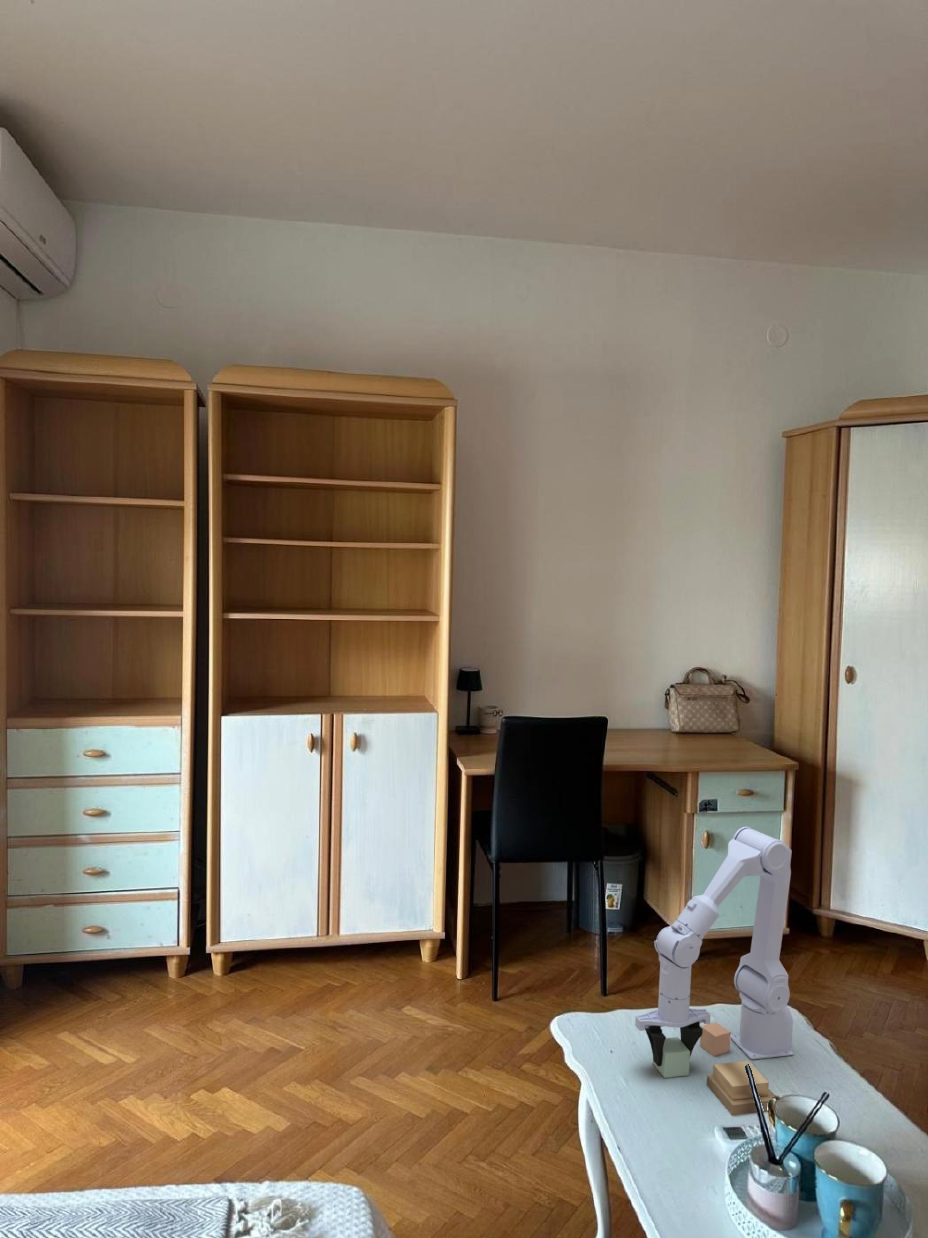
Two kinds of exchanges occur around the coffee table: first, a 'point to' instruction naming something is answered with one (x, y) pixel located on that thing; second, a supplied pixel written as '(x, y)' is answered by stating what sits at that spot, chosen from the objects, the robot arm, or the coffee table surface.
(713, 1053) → the terracotta cube
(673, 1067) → the sage cube
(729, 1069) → the slab top
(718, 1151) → the coffee table surface
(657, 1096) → the coffee table surface
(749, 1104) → the slab bottom
